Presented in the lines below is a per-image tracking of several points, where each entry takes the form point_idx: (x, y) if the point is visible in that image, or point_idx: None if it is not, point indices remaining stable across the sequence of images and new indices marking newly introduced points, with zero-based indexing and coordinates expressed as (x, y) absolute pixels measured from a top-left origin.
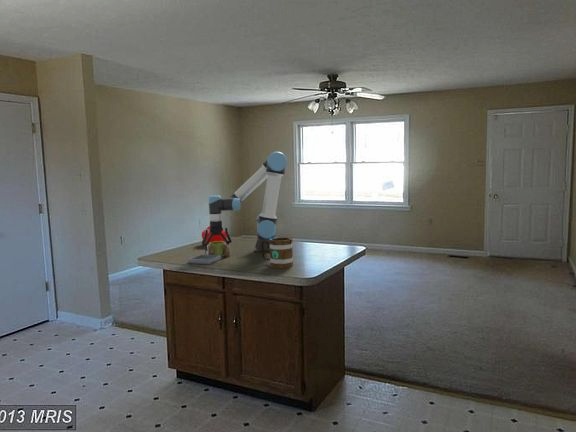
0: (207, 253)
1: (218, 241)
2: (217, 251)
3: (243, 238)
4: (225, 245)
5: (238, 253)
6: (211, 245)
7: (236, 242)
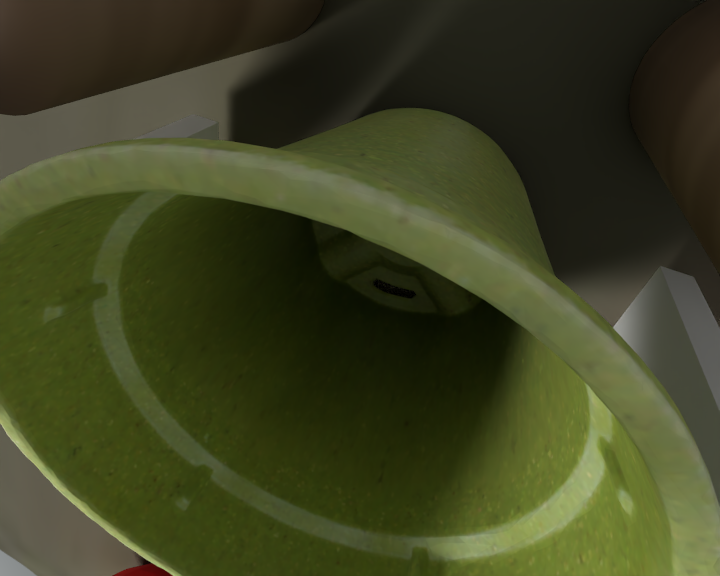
0: (709, 330)
1: (160, 558)
2: (460, 151)
3: (2, 546)
4: (1, 25)
5: (7, 119)
6: (635, 480)
7: (42, 525)
